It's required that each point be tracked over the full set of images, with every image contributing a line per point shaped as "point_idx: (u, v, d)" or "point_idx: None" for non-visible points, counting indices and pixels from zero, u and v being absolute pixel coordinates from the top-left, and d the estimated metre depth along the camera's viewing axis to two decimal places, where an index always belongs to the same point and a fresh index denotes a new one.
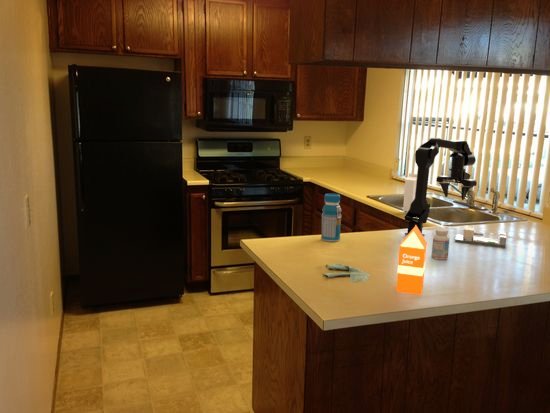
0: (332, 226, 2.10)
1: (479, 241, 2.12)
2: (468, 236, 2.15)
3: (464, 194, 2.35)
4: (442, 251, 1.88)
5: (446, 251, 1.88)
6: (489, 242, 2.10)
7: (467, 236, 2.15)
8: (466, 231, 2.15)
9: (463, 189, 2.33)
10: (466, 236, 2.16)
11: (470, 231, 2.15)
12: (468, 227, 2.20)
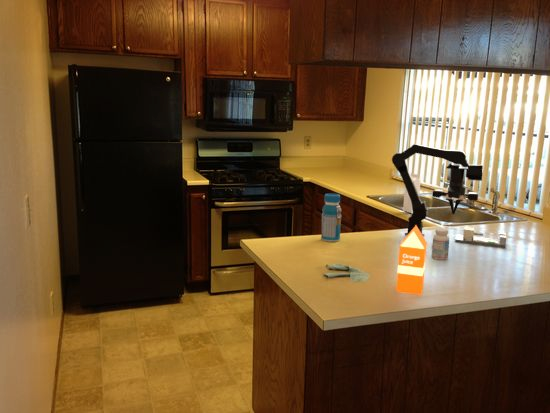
0: (332, 226, 2.10)
1: (479, 241, 2.12)
2: (468, 236, 2.15)
3: (451, 207, 2.20)
4: (442, 251, 1.88)
5: (446, 251, 1.88)
6: (489, 242, 2.10)
7: (467, 236, 2.15)
8: (466, 231, 2.15)
9: None
10: (466, 236, 2.16)
11: (470, 231, 2.15)
12: (468, 227, 2.20)
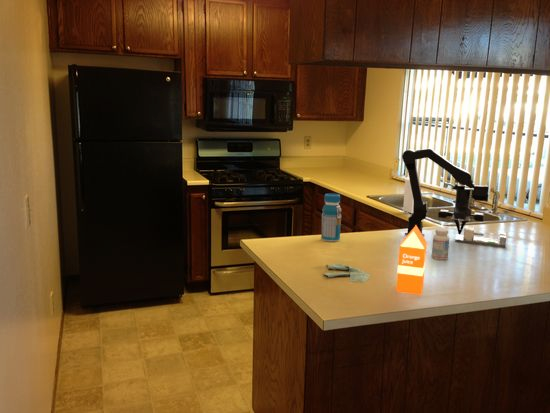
0: (332, 226, 2.10)
1: (479, 241, 2.12)
2: (468, 236, 2.15)
3: None
4: (442, 251, 1.88)
5: (446, 251, 1.88)
6: (489, 242, 2.10)
7: (467, 236, 2.15)
8: (466, 231, 2.15)
9: None
10: (466, 236, 2.16)
11: (470, 231, 2.15)
12: (468, 227, 2.20)
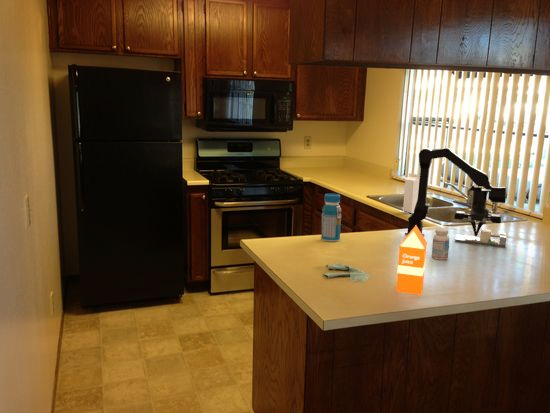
0: (332, 226, 2.10)
1: (479, 241, 2.12)
2: (485, 238, 2.13)
3: None
4: (442, 251, 1.88)
5: (446, 251, 1.88)
6: (489, 242, 2.10)
7: (484, 238, 2.13)
8: (483, 233, 2.13)
9: None
10: (483, 238, 2.13)
11: (487, 233, 2.12)
12: (485, 229, 2.17)
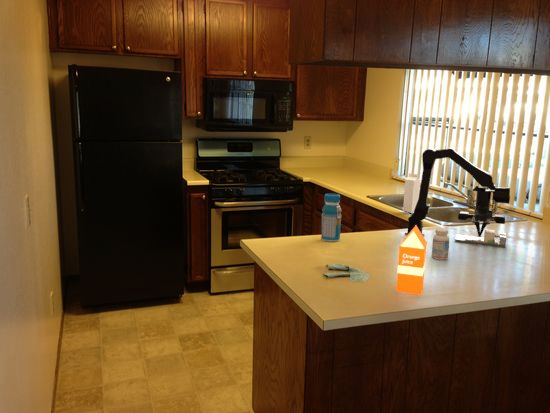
0: (332, 226, 2.10)
1: (479, 241, 2.12)
2: (489, 238, 2.12)
3: None
4: (442, 251, 1.88)
5: (446, 251, 1.88)
6: (489, 242, 2.10)
7: (488, 238, 2.12)
8: (487, 233, 2.12)
9: None
10: (487, 238, 2.12)
11: (491, 233, 2.11)
12: (488, 229, 2.16)
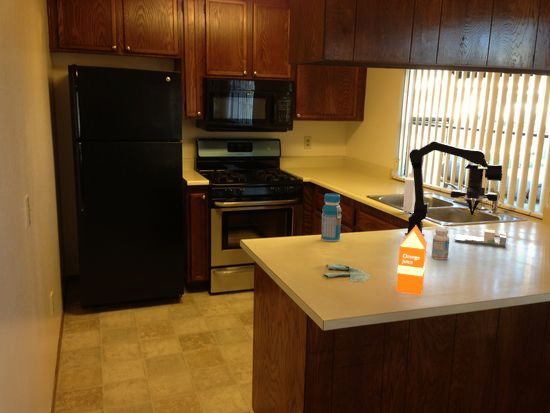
0: (332, 226, 2.10)
1: (479, 241, 2.12)
2: (489, 238, 2.12)
3: None
4: (442, 251, 1.88)
5: (446, 251, 1.88)
6: (489, 242, 2.10)
7: (488, 238, 2.12)
8: (487, 233, 2.12)
9: None
10: (487, 238, 2.12)
11: (491, 233, 2.11)
12: (488, 229, 2.16)
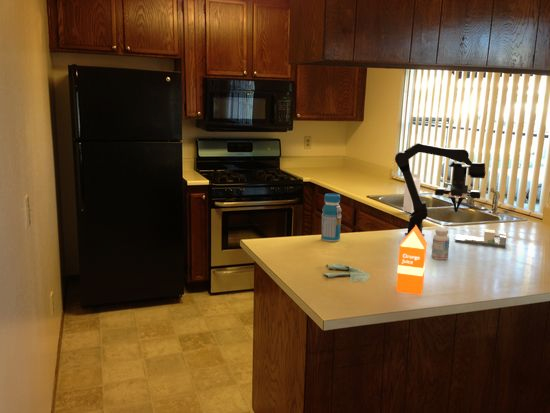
0: (332, 226, 2.10)
1: (479, 241, 2.12)
2: (489, 238, 2.12)
3: None
4: (442, 251, 1.88)
5: (446, 251, 1.88)
6: (489, 242, 2.10)
7: (488, 238, 2.12)
8: (487, 233, 2.12)
9: None
10: (487, 238, 2.12)
11: (491, 233, 2.11)
12: (488, 229, 2.16)
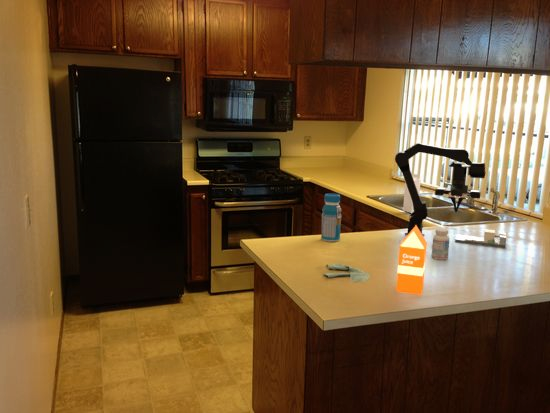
0: (332, 226, 2.10)
1: (479, 241, 2.12)
2: (489, 238, 2.12)
3: None
4: (442, 251, 1.88)
5: (446, 251, 1.88)
6: (489, 242, 2.10)
7: (488, 238, 2.12)
8: (487, 233, 2.12)
9: None
10: (487, 238, 2.12)
11: (491, 233, 2.11)
12: (488, 229, 2.16)
